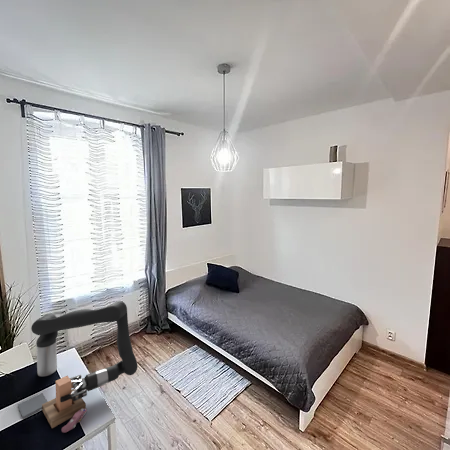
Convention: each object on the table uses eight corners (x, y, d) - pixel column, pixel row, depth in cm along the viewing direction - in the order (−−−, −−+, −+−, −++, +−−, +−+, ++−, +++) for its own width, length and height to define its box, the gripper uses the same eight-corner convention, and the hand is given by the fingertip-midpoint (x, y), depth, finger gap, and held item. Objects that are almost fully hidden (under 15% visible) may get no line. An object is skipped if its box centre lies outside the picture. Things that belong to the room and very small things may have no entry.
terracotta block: (56, 410, 120) (55, 380, 119) (68, 403, 124) (67, 375, 122) (60, 416, 117) (59, 386, 115) (72, 409, 121) (71, 380, 119)
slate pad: (17, 406, 121) (17, 404, 121) (42, 394, 129) (42, 392, 129) (23, 418, 115) (23, 416, 115) (48, 405, 123) (48, 403, 122)
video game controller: (67, 438, 108) (73, 426, 107) (59, 431, 109) (65, 420, 108) (84, 418, 118) (90, 407, 117) (77, 412, 119) (82, 402, 117)
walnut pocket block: (42, 410, 120) (41, 404, 119) (74, 393, 130) (74, 388, 130) (52, 428, 111) (51, 422, 110) (85, 409, 121) (85, 403, 121)
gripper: (93, 365, 134) (56, 378, 123) (100, 380, 123) (61, 396, 113) (93, 378, 135) (57, 392, 124) (100, 394, 124) (61, 411, 113)
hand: (59, 394), depth 118 cm, fingers open, 8 cm apart
